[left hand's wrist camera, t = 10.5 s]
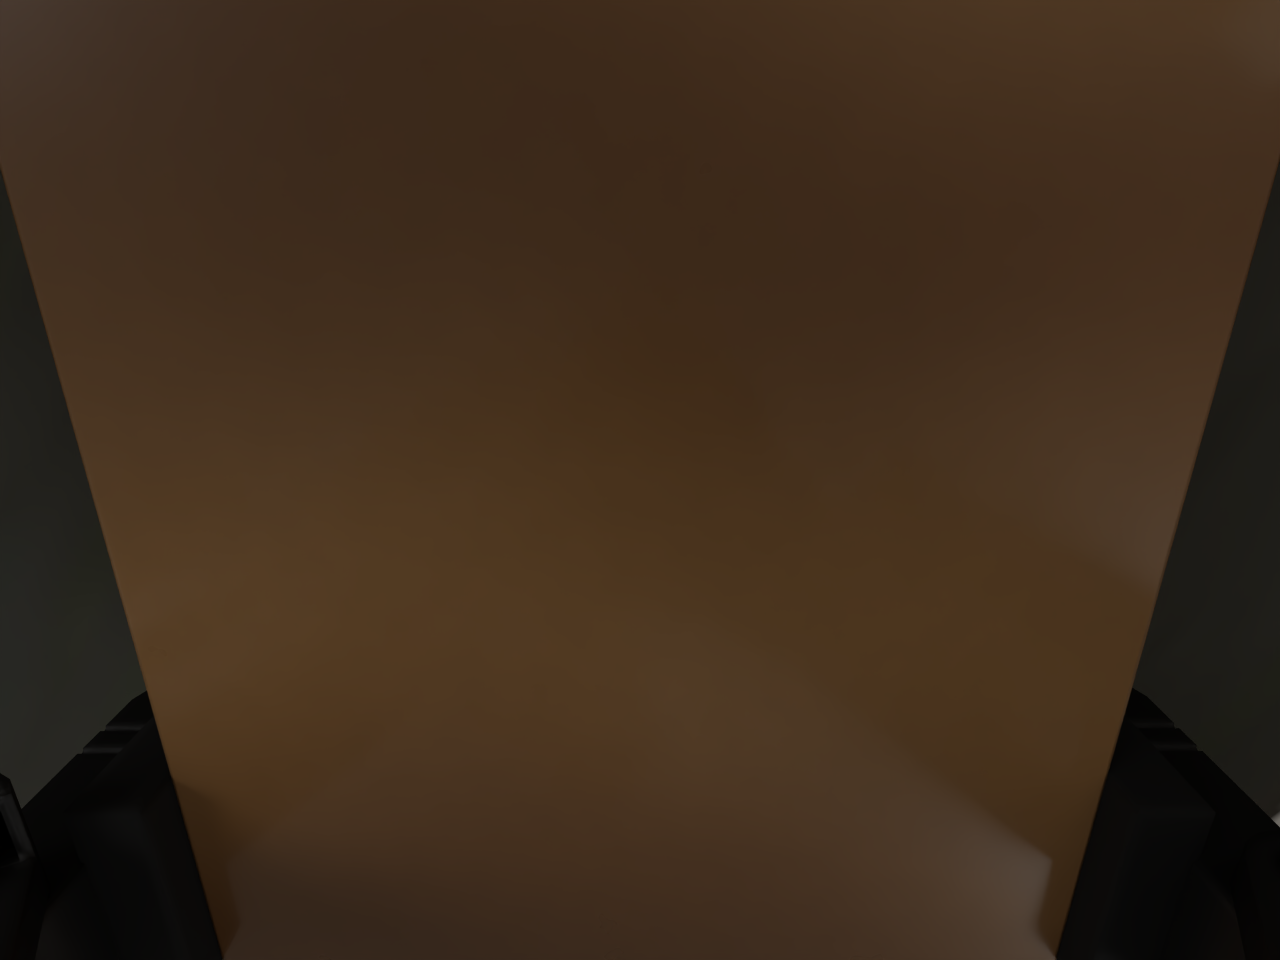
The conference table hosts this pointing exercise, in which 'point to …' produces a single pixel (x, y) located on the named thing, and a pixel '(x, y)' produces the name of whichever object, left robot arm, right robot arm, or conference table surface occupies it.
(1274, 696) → the conference table surface
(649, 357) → the wide beam
